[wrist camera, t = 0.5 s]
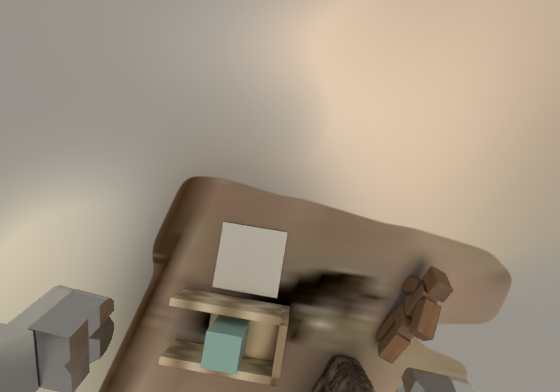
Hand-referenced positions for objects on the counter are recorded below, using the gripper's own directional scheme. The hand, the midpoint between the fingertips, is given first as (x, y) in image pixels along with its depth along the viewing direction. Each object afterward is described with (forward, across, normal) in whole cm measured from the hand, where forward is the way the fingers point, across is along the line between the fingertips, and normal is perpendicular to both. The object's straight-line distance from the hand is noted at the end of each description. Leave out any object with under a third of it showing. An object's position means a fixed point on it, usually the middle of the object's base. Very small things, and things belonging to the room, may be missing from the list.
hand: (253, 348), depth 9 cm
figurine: (+42, +21, -26) cm, 54 cm away
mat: (+43, -5, -24) cm, 49 cm away
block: (+36, -5, -34) cm, 50 cm away
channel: (+38, -6, -35) cm, 52 cm away
